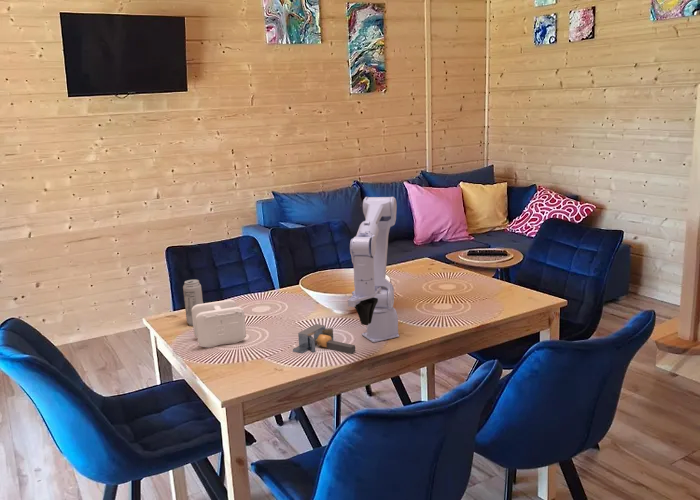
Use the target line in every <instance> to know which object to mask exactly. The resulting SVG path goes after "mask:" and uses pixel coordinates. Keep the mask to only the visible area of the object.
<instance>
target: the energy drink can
mask: <svg viewBox="0 0 700 500" xmlns="http://www.w3.org/2000/svg"><path fill="white" fill-rule="evenodd" d="M182 289H183V291H182V292H183V301H184V308H185V309H184V310H185V317H186V318H185V319H186V323H187V324H188V325H189V326H192V327H193V320H192V311H191V310H192V307H193V306H195V305H197V304H203V303H204V301H203V290H202V285H201V283H200V280H199V279H188V280H185V281H184V284H183V286H182Z"/></svg>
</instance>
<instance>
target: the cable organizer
mask: <svg viewBox="0 0 700 500" xmlns="http://www.w3.org/2000/svg"><path fill="white" fill-rule="evenodd" d="M191 311H192V320H193V326H192V327H193V335H194V336H195V338H197V343H198V345H199V346H200V347H203V348H207V349H208V348H214V347H215V348H216V347H217V346H219V345H226V344H227V345H232V344H237V343H239V342H242V341H243V340H245V339H246V337H247V328H246V318H245V316H246V315H245V311H244V309H243V308H242V307H240V306H237V303H236V301H235V300H233V299H224V300H219V301H212V302H211V301H209V302H205V303H204V302H203V304H197V305H195V306H193V307H192V310H191Z"/></svg>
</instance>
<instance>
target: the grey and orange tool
mask: <svg viewBox="0 0 700 500" xmlns="http://www.w3.org/2000/svg"><path fill="white" fill-rule="evenodd" d="M315 342H316V343H317V346H318V347H323V348H326V349H328V350H332V351H337V352H341V353H345V354H350V355H353V354H354V353H356V344H351V343H345V342H341V341H336V340H334V341H332V338H331V336H328V335H323V334H320V335H319V336H318V338H317V339H316V340H315Z"/></svg>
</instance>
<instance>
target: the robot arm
mask: <svg viewBox="0 0 700 500" xmlns="http://www.w3.org/2000/svg"><path fill="white" fill-rule="evenodd" d="M397 208H398V205H397V200H396V198H395V197H394V196H379V197H378V196H370V197H369V196H365V197H364V199H363V200H362V212H363V215H364V219H365V220H363V221H362V222H361V223H360V224H359V226H358V230H357V233H356V235H355V236H354V237H353V238H351V239H350V243H349V253H350V255H351V262H352V263H351V264H352V265H353V279H354V280H353V281H354V282H353V283H354V284H353V285H354V290H353V291H352V292H351V297H350V298H348V299H347V306H348V307H351V308H354V310H356V312H357V315H358V318H359V321H360V324H361V325H363V326H366V332H363V333H361V335H362V337H364V338H366V339H367V340H369V341H370V342H372V343H377V342H382V341H387V340H390V339H394V338H395V339H396V338H399V337H400V335H399V317H398V313H397V310H396V308H395V307H394V303H395V294H394V291H395V287H394V285H393V283H391V281H389V280H388V279H387V278H386V276H387V275H386V274H387V262H388V261H387V260H388V247H389V233H390V231H391V230H390V229H391V227H393V226H395V224H396V222H397V221H396V220H397Z"/></svg>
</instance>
